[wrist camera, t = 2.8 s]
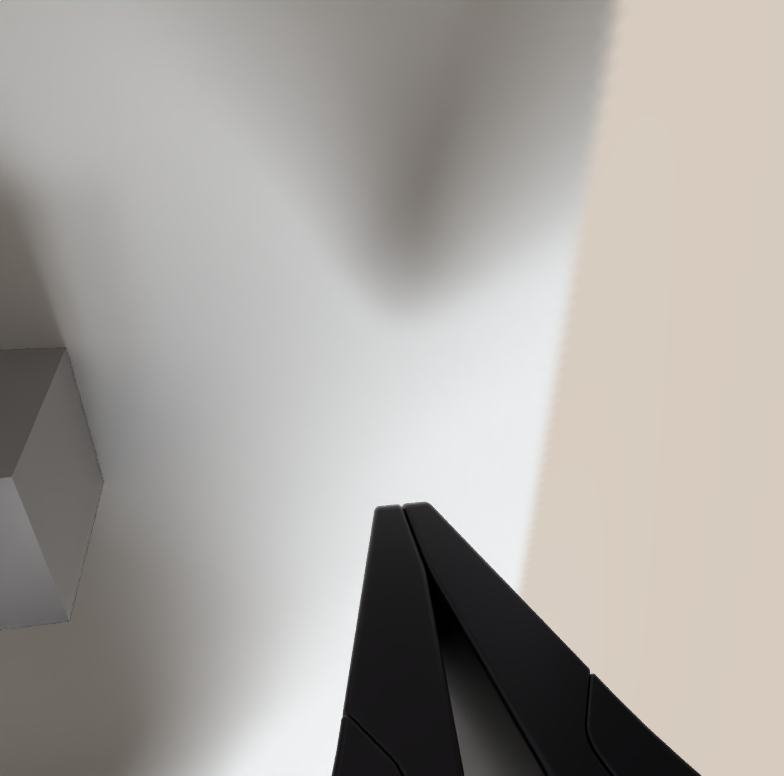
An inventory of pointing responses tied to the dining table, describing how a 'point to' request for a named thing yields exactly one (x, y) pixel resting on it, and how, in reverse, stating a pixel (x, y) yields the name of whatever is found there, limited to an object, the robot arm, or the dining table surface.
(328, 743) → the dining table surface
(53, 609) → the plug
